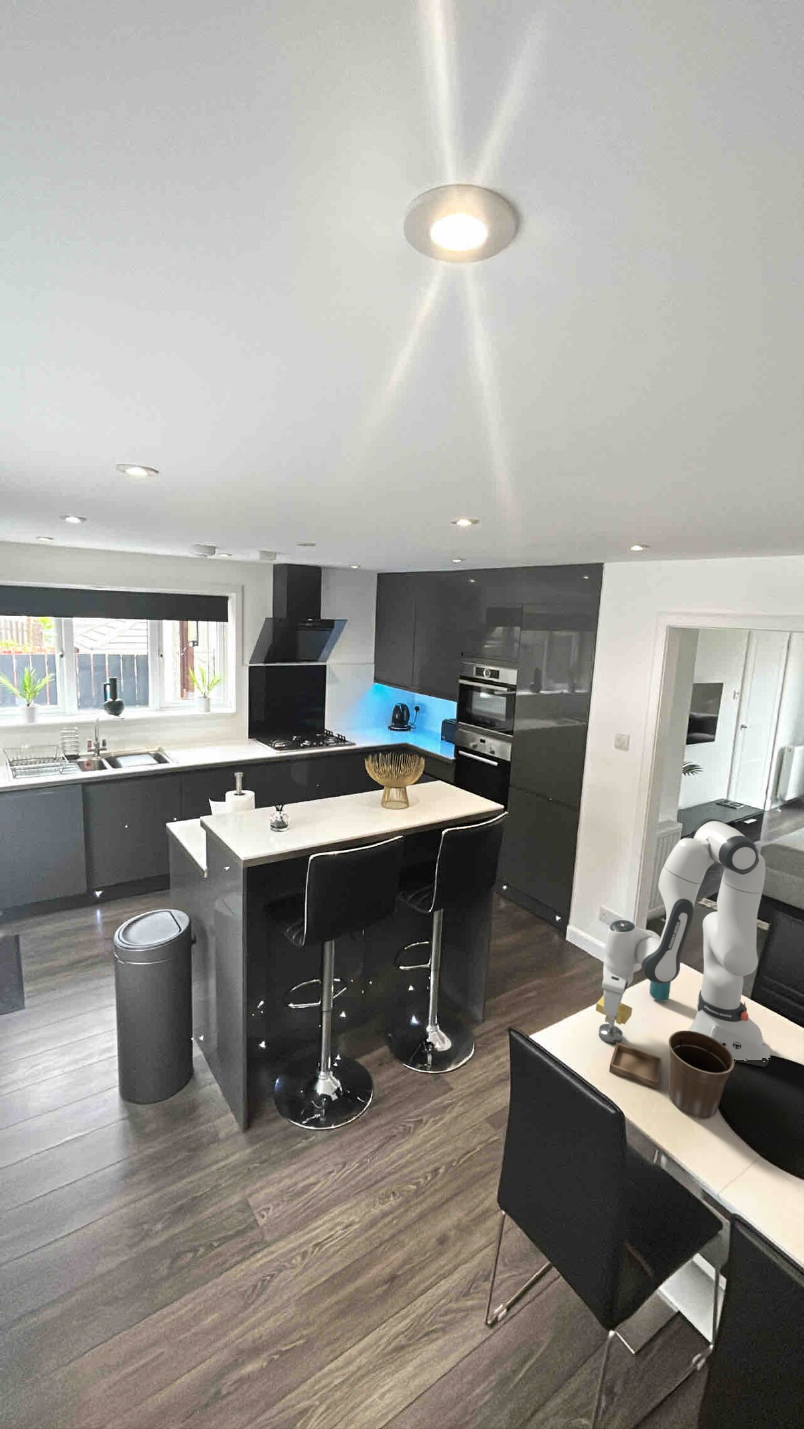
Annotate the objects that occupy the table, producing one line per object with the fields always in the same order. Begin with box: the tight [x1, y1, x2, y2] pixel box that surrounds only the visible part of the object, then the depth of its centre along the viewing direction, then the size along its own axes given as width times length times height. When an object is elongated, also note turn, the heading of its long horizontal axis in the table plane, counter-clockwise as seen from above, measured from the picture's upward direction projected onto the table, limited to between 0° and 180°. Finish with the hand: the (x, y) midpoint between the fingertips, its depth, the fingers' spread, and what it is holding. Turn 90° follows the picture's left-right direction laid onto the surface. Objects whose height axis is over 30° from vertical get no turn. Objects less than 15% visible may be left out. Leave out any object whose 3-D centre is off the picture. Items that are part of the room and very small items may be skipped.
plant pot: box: [668, 1030, 735, 1120], centre depth 170 cm, size 16×16×16 cm
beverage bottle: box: [649, 981, 672, 1002], centre depth 214 cm, size 6×7×20 cm
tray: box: [608, 1043, 663, 1090], centre depth 183 cm, size 13×11×2 cm
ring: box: [595, 994, 633, 1025], centre depth 194 cm, size 7×9×3 cm
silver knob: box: [598, 1015, 624, 1046], centre depth 195 cm, size 7×7×6 cm
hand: (614, 1011), depth 194 cm, fingers closed on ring, 6 cm apart
